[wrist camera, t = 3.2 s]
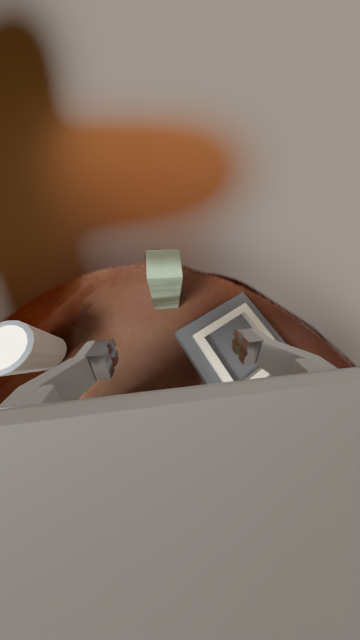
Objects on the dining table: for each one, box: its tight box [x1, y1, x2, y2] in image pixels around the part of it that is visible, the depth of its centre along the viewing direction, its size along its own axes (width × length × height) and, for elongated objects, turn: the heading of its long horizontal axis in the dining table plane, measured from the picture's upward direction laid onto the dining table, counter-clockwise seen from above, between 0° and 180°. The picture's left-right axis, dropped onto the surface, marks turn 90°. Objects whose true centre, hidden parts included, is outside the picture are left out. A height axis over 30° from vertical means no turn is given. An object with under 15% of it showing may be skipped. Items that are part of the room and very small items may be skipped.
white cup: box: [0, 321, 67, 376], centre depth 20 cm, size 7×7×7 cm
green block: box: [146, 249, 183, 309], centre depth 24 cm, size 5×5×10 cm
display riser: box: [175, 292, 286, 384], centre depth 24 cm, size 15×15×4 cm
